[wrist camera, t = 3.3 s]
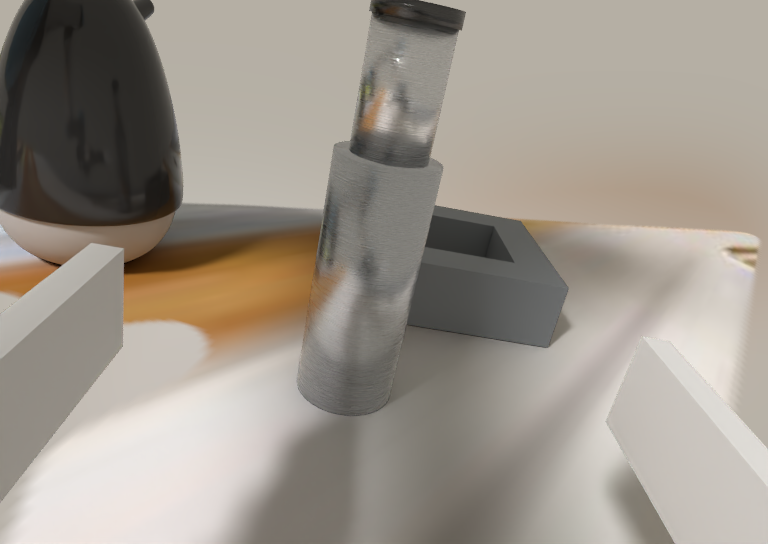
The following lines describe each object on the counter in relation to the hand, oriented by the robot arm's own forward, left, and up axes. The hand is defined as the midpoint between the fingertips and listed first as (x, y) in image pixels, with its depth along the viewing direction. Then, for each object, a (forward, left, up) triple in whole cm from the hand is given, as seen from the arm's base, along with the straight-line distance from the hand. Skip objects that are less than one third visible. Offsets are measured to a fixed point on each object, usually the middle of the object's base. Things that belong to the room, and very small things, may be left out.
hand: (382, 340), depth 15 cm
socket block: (+6, +23, -9) cm, 25 cm away
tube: (0, +10, -9) cm, 13 cm away
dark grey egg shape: (-16, +20, -9) cm, 27 cm away
